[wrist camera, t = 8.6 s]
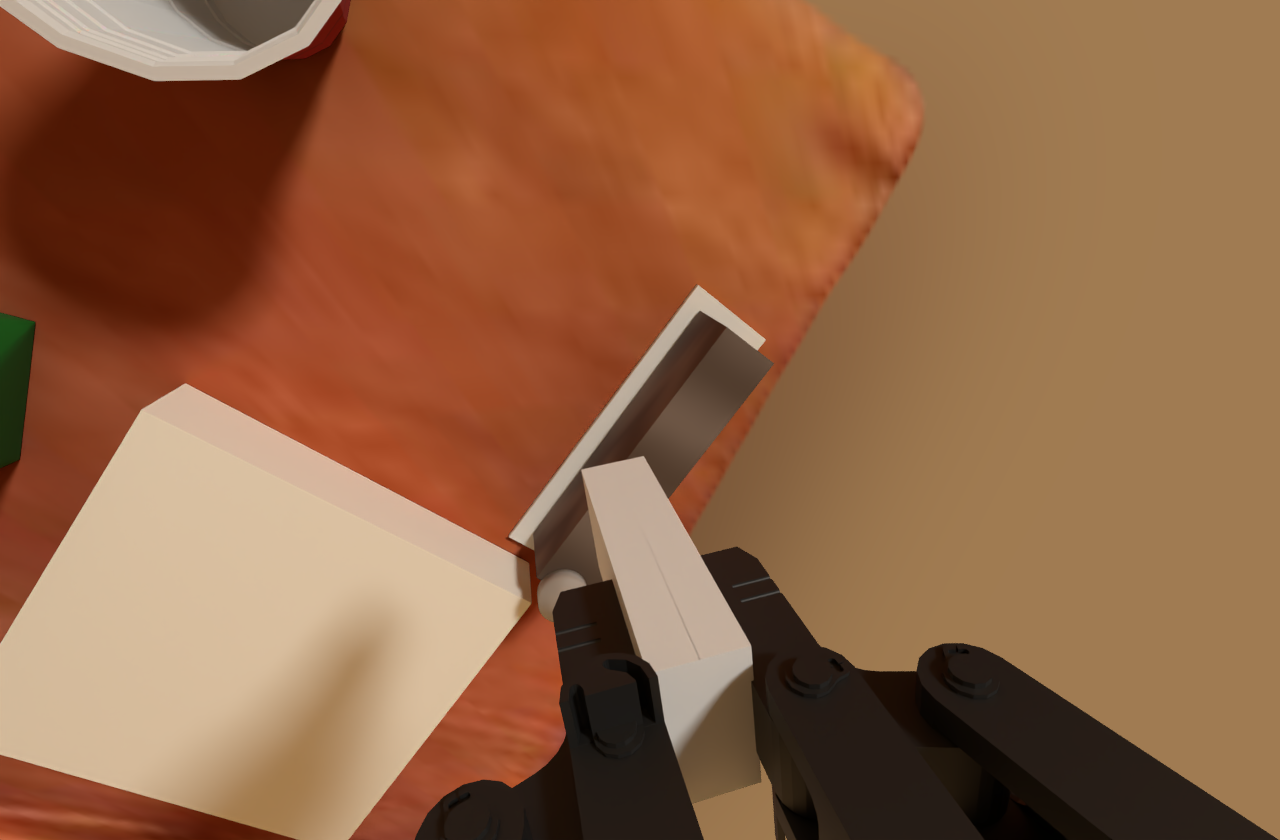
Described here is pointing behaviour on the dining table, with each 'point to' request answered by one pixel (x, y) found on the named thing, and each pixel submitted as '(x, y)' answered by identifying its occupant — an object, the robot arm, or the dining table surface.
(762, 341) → the mat
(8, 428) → the milk carton
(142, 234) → the dining table surface
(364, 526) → the cream flat square box
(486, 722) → the dining table surface
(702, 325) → the dark grey block
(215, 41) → the plastic cup
